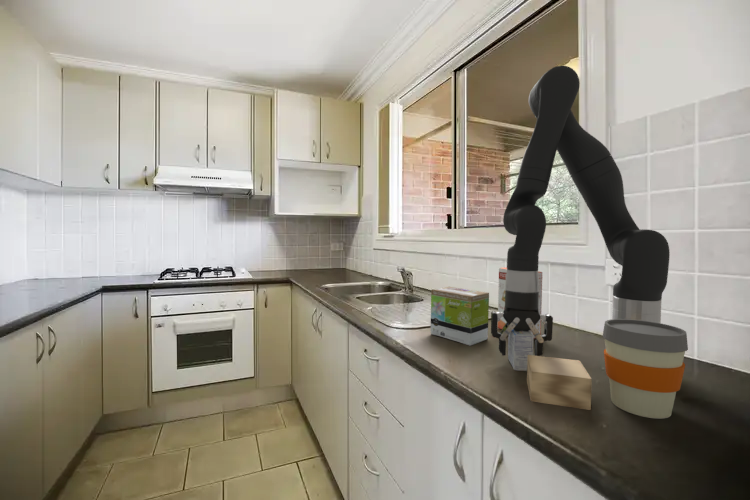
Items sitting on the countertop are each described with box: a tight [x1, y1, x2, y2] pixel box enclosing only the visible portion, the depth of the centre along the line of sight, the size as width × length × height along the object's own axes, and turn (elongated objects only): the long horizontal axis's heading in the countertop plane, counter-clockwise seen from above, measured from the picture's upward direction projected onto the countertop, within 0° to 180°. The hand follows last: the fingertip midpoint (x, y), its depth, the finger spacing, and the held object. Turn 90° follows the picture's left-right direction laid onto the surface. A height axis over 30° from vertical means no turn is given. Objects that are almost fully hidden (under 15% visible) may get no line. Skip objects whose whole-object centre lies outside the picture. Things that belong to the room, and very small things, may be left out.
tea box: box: [430, 286, 490, 347], centre depth 109 cm, size 15×10×15 cm
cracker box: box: [497, 266, 543, 340], centre depth 114 cm, size 14×6×21 cm, turn 17°
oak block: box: [526, 354, 592, 411], centre depth 71 cm, size 10×10×6 cm
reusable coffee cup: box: [602, 318, 689, 419], centre depth 66 cm, size 13×13×15 cm
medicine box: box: [507, 330, 534, 372], centre depth 86 cm, size 8×4×9 cm, turn 168°
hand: (520, 355), depth 86 cm, fingers open, 7 cm apart
